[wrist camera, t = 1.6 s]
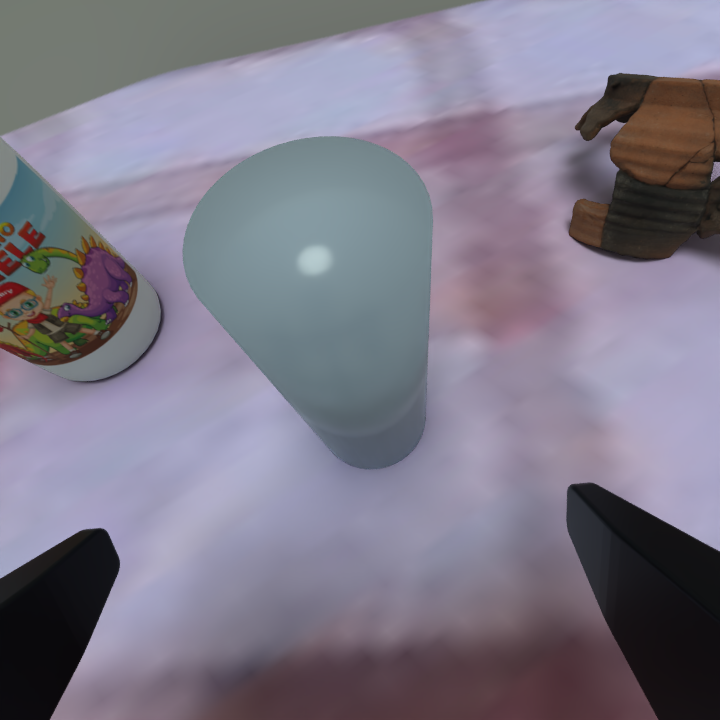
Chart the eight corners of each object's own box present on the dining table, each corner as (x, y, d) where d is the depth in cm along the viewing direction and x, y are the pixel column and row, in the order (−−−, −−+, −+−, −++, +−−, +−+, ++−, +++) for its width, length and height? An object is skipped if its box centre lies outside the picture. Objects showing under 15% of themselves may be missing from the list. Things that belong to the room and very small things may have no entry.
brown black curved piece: (515, 226, 26) (560, 68, 21) (587, 206, 31) (637, 74, 26) (739, 305, 19) (884, 91, 14) (786, 262, 24) (905, 94, 19)
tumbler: (405, 485, 20) (380, 369, 7) (302, 447, 21) (135, 297, 9) (438, 382, 22) (463, 153, 9) (342, 354, 23) (251, 124, 11)
